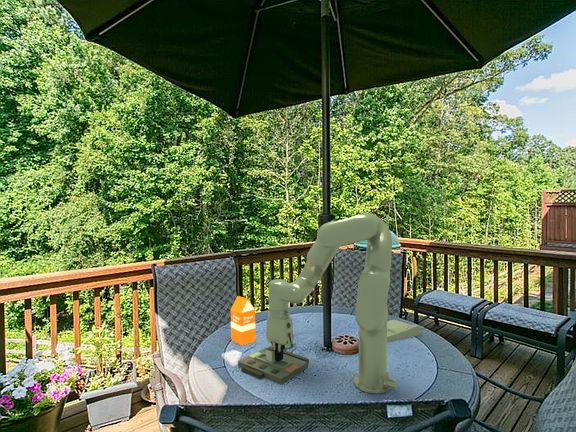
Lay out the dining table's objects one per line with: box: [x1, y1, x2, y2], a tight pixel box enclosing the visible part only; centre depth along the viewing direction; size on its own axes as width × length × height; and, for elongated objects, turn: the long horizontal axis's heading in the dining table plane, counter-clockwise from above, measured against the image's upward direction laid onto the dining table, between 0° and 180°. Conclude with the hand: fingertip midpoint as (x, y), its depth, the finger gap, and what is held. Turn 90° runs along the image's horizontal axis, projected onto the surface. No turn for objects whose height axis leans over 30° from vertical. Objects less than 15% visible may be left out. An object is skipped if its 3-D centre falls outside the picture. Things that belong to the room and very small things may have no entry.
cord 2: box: [283, 349, 310, 364], centre depth 147 cm, size 18×2×2 cm, turn 51°
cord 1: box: [240, 366, 265, 380], centre depth 133 cm, size 10×2×2 cm, turn 51°
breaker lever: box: [265, 345, 275, 363], centre depth 139 cm, size 3×3×5 cm
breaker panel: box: [237, 347, 309, 385], centre depth 139 cm, size 22×16×3 cm
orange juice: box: [230, 295, 256, 346], centre depth 164 cm, size 8×9×20 cm
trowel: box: [387, 319, 421, 343], centre depth 169 cm, size 28×16×5 cm, turn 93°
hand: (279, 359), depth 136 cm, fingers closed
